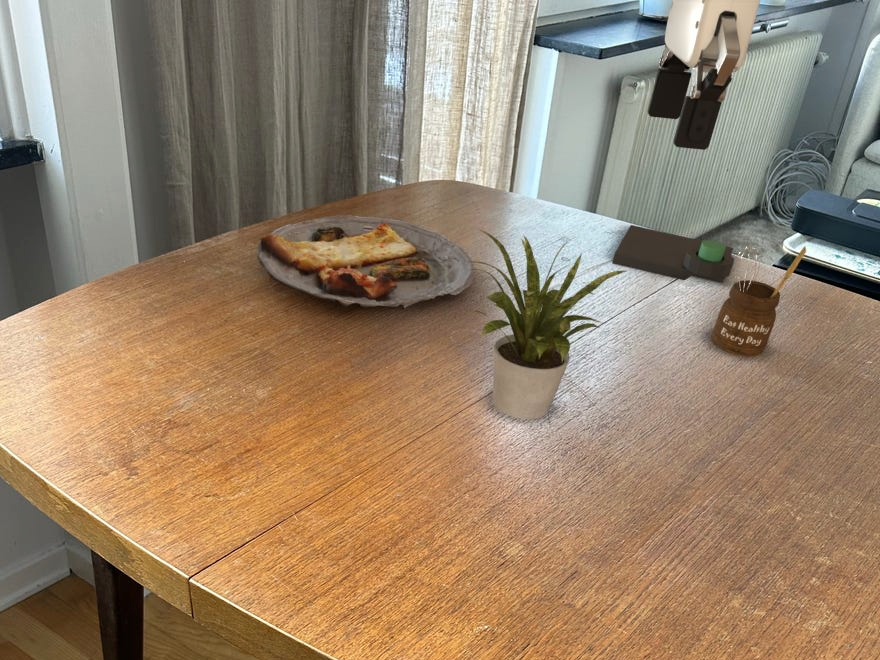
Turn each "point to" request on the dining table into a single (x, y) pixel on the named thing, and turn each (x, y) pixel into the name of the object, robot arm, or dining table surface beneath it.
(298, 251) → the food plate
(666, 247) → the green push button base
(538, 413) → the house plant
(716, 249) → the button
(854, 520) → the dining table surface
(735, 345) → the utensil holder
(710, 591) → the dining table surface
